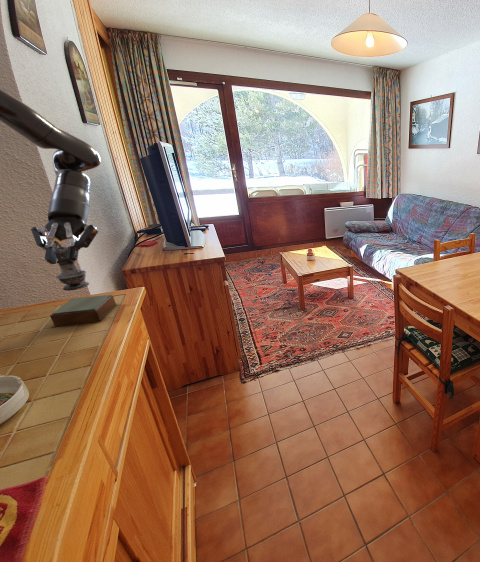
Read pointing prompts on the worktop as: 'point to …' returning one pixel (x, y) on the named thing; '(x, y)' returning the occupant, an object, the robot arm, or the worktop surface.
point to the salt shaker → (69, 271)
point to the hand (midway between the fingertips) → (60, 261)
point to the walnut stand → (83, 310)
